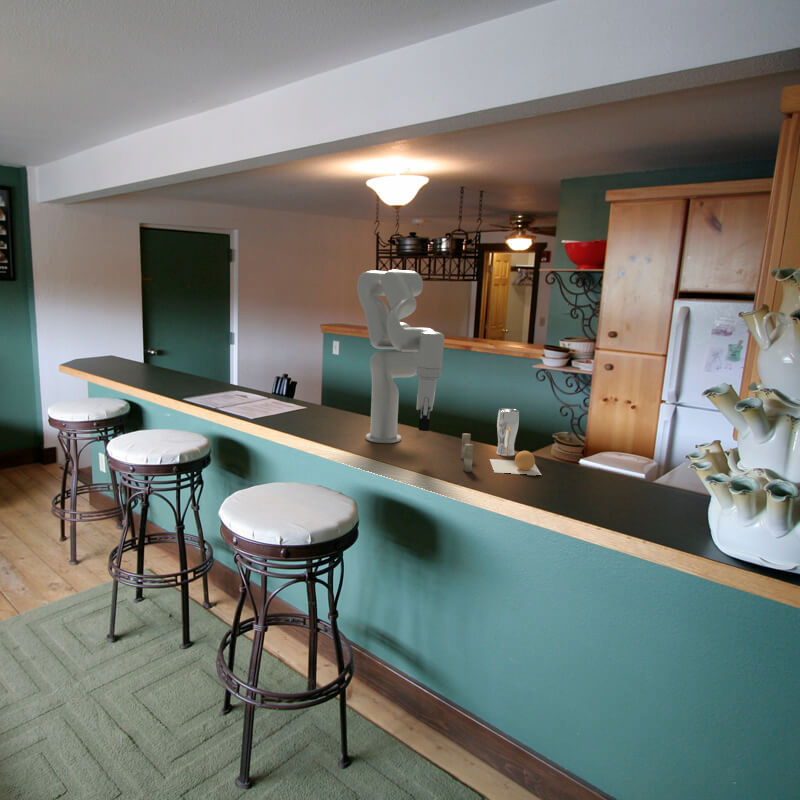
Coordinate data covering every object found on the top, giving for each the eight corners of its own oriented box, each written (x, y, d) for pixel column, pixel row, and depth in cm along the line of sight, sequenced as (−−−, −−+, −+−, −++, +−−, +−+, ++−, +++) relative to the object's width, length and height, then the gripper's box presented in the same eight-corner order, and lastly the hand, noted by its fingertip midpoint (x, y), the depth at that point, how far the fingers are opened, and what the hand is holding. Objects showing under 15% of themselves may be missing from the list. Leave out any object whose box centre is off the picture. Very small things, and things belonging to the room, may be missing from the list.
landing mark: (489, 459, 183) (489, 459, 183) (533, 462, 182) (533, 461, 182) (494, 472, 169) (494, 472, 169) (541, 475, 169) (541, 475, 168)
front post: (462, 469, 171) (464, 443, 170) (471, 469, 171) (473, 444, 170) (463, 471, 169) (464, 445, 167) (471, 472, 169) (473, 446, 167)
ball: (533, 468, 176) (514, 468, 176) (533, 449, 175) (514, 449, 176) (535, 472, 170) (515, 472, 171) (536, 452, 169) (515, 452, 170)
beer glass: (500, 457, 186) (503, 412, 184) (491, 451, 193) (494, 408, 190) (519, 456, 188) (523, 412, 185) (510, 450, 195) (513, 408, 192)
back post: (460, 457, 184) (462, 433, 183) (468, 457, 184) (470, 433, 183) (461, 459, 182) (462, 435, 180) (469, 459, 182) (470, 435, 180)
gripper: (417, 367, 180) (412, 422, 184) (415, 376, 165) (410, 436, 169) (440, 369, 179) (435, 424, 184) (441, 378, 165) (435, 438, 169)
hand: (423, 430), depth 177 cm, fingers closed
